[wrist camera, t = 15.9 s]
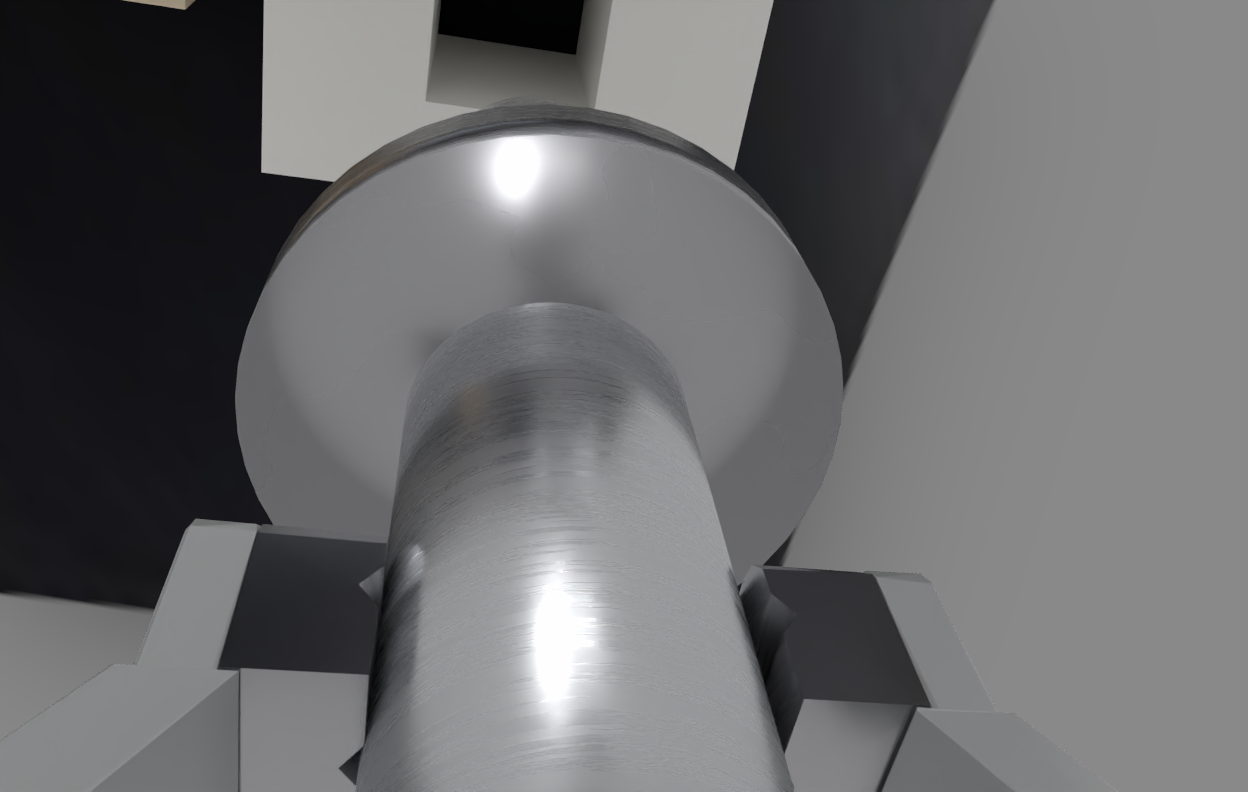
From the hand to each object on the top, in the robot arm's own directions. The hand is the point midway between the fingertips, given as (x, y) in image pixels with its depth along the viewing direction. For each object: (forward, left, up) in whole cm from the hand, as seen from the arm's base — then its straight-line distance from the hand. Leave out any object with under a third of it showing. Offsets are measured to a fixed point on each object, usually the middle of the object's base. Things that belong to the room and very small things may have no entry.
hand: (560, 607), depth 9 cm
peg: (0, 0, -10) cm, 10 cm away
